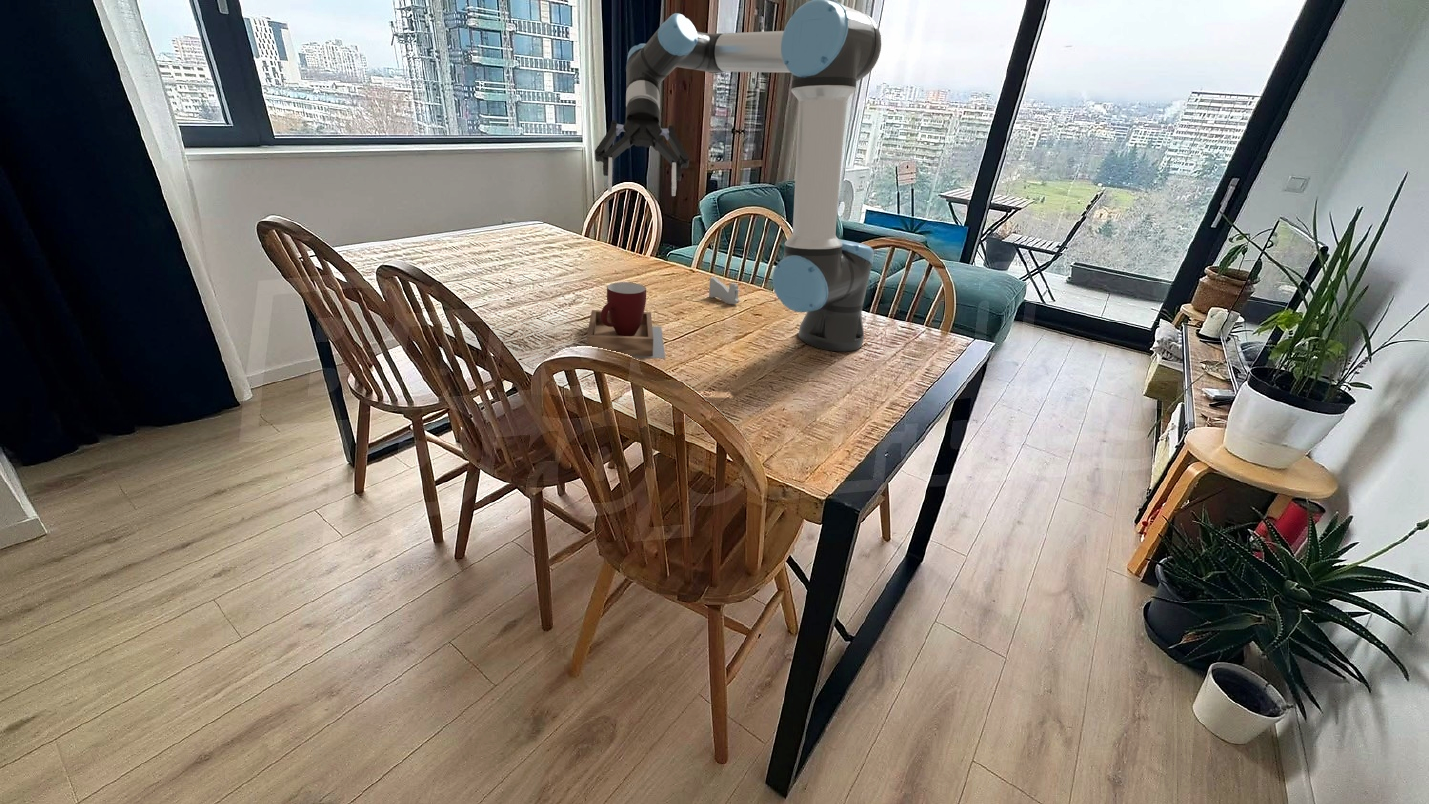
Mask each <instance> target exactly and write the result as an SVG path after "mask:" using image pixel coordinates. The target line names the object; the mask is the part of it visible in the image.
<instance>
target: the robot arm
mask: <svg viewBox="0 0 1429 804" xmlns="http://www.w3.org/2000/svg"><path fill="white" fill-rule="evenodd" d="M881 49H882V35H881V32H880V30H879V27H878V25H877V23H876V22H875V20H874V19H873V18H872V17H871V16H870V15H869V14H867V13H865V12H863V11H860V10H856V9H854V8H851V7H849V6H846V5H843V4H841V3H840V2H839V1H836V0H809V1H807V2H804V4H802V5H801V6H799V7H798V8H797V9H796V10H795V12H794V13H793V15H792V16H791V17H790V18H789V20H788V21H787V23H786V25H785V27H784V30H775V31H773V30H772V31H770V30H769V31H750V32H749V31H748V32H724V33H717V32H716V33H710V32H709V33H707V32H703V31H702V32H701V31H697V29H696V27H695V25H694V24H693V22H692V21H691V20H690V19H689V18H688V17H685V15H684V14H681V13H677V12H676V13H673V14H671V15H670V16H669V17H668V18H667V19H666V20H665V21H664V22H662V23H661V25H660V26H659V27H658V29H657V30H656V31H655V32H654V34H653V35H652V36H651V37H650V38H649V40H648V41H647V42H646V43H639V44H637V45H634V46H631V48H630V49H629V51H628V53H627V60H626V64H625V65H626V66H625V72H626V77H625V78H626V82H625V83H626V88H625V89H626V93H625V122H624V123H623V124H619V123H618V122H617V120H611V123H610V128H609V129H608V131H607V132H606V134H605V135H604V137H602V140H601V141H600V142H599V144H598V145H597V147H596V148H595V150H594V158H595V161H596V162H598V163H599V162H601V163H602V174H603V176H605V177H607V191H608V192H613V161H614V160H615V159H616V158H618V157H619V156H620V155H621V154H622V153H624V152H625V151H626V150H627V149H630V148H631V147H632V146H635V147H638V148H640V147H644V148H650V147H652V148H653V149H654V151H656V152H658V153H659V155H661V156H662V157H663V158H664V159H665V160H666V162H668V163H669V165H670V166H671V197H675V196H676V193H677V182H681V178H682V169H688V168H689V164H690V157H689V156H688V154H687V152H686V150H685V149H684V147H683V146H682V144H681V142H680V140H679V138H678V137H677V135H676V132H675V127H674V126H673V125H669V126H668V128H662V126H661V123H660V121H661V120H660V119H661V118H660V113H661V112H660V111H661V110H660V109H661V108H660V107H661V106H660V103H661V101H660V97H661V96H660V95H661V94H660V89H661V83H662V82H663V81H664V80H665V79H666V78H667V77H668V76H669V75H670V74H671V73H672V72H673V71H674V70H675V69H676V68H682V69H687V70H692V71H693V70H695V71H702V72H706V73H710V74H723V73H725V72H726V73H727V72H729V73H740V72H741V73H791V88H790V89H791V91H790V92H791V93H792V95H794V97H795V98H796V99H797V101H798V115H797V134H796V135H797V137H796V158H795V173H794V174H795V176H794V178H795V179H794V198H793V220H792V233H791V236H790V237H789V238H788V239H787V240H786V241H785V242H784V248H783V249H784V251H783V257H782V258H781V260H780V261H779V262H778V263H777V264H776V266H775V267H774V270H773V273H772V287H773V291H774V293H775V296H776V297H777V299H778V300H780V302H781V304H782V305H783V306H785V307H786V308H787V309H789V310H790V311H793V312H796V313H805V316H804V317H803V319H802V321H801V323H800V325H799V329H798V334H797V335H798V338H799V339H800V340H801V341H802V342H804V343H805V344H807V345H809V346H812V347H814V348H817V349H821V350H826V351H831V352H852V351H856V350H859V349H861V348H862V347H863V343H864V337H865V333H864V323H863V316H862V315H863V314H862V312H863V307H864V302H865V297H866V293H867V288H868V284H869V279H870V276H871V275H870V274H871V270H872V266H873V265H874V261H873V260H874V249H873V247H872V246H869V245H867V244H864V243H860V242H855V241H850V240H845V239H840V238H839V237H837V234H836V231H837V223H838V222H837V221H838V207H839V195H840V185H841V184H840V183H841V170H842V169H841V168H842V155H843V145H844V144H843V143H844V134H845V133H844V132H845V118H846V117H845V116H846V105H847V100H848V99H849V97H850V96H851V95H852V94H853V93H854V92H855V91H856V85H857V82H858V81H860V80H862V79H863V78H865V77H866V76H868V75H869V73H870V72H871V71H872V70H873V69H874V68H875V66H876V65H877V62H878V60H879V58H880V54H881ZM622 132H623V133H624V134H623V136H622V137H621V138H620V139H619V140H617V141H616V142H615V140H616V139H617V137H618V136H620V134H621V133H622ZM662 136H664V138H665V140H666V141H668V143H669V146H670V147H671V148H672V149H671V148H670V147H669V146H668V145H667V144H666V142H665V141H664V140H663V138H662ZM614 142H615V143H614ZM613 143H614V144H613ZM860 347H861V348H860Z"/></svg>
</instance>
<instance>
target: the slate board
mask: <svg viewBox="0 0 1429 804" xmlns="http://www.w3.org/2000/svg"><path fill="white" fill-rule="evenodd" d="M652 329H653V356H635V355H630V356H632V357H634V358H633V359H635V358H636V359H663V360H664V359H666V353H665V345H664V338H663V330H662V326H654V325H652ZM586 346H587V343H586V345H585V347H586Z"/></svg>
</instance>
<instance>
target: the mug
mask: <svg viewBox="0 0 1429 804" xmlns="http://www.w3.org/2000/svg"><path fill="white" fill-rule="evenodd" d="M606 302H607V303H606V304H604V306H603V308H602V309H601V310H602V312H601V320H602V322H603V324H604V325H606V326H609V327H614V329H615V331H616V333H617V334H618V335H620V336H633V335H635V334H636V332H637V330H638V329H639V327H640V325H641V323H642V319H643V314H644V312H645V308H646V305H647V288H646V287H645V285H643V284H640V283H635V282H630V281H629V282H625V281H620V282H614V283H610V284H608V285H607V287H606ZM608 311H609V314H610V320H611V323H608V321H607V314H608Z"/></svg>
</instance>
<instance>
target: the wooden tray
mask: <svg viewBox="0 0 1429 804" xmlns="http://www.w3.org/2000/svg"><path fill="white" fill-rule="evenodd" d="M601 312H602V309H600V310H599V309H592V310H591V312H590V313H591V314H590V319H589V324H588V328H587V333H586V344H587V346H592V347H598V348H603V349H607V350H611V351H616V352H621V353H624V354H628V355H635V356H653V329H652V326H653V322H652V321H653V319H652V312H651V311H644V314H643V319H642V323H641V325H640V327H639V329H638V330H637V332H636V334H635V335H633V336H620V335H618V334H617V333H616V331H615V329H614V327H609V326H606V325H604V324H603V322H602V320H601ZM607 321H608V323H611V320H610V314H609V311H608V314H607Z"/></svg>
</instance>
